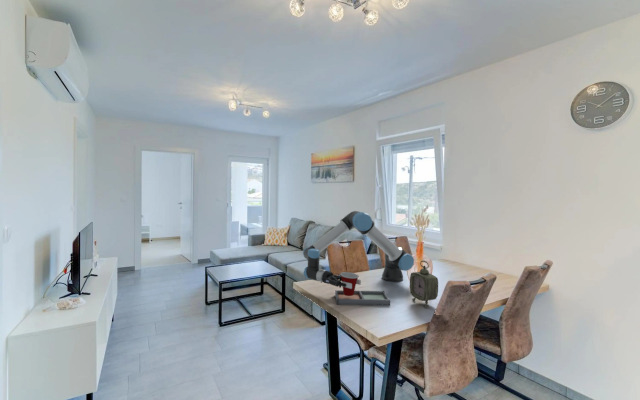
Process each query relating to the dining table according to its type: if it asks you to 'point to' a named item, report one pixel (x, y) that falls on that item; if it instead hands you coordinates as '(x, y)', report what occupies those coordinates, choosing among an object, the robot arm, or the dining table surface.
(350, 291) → the plastic cup
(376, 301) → the organiser tray
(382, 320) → the dining table surface
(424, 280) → the tabletop clock
